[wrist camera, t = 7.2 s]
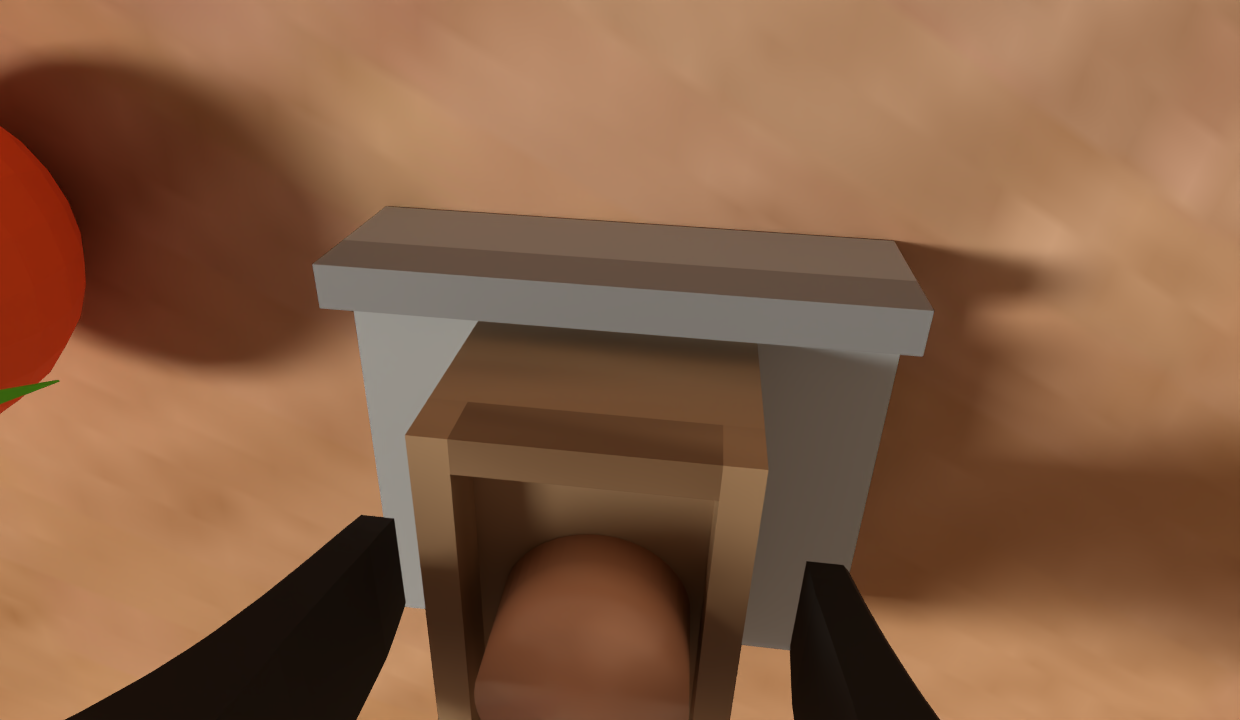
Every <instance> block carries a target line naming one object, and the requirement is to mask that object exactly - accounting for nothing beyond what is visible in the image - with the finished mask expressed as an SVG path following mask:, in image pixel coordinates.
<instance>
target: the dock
mask: <svg viewBox="0 0 1240 720" xmlns="http://www.w3.org/2000/svg"><path fill="white" fill-rule="evenodd" d="M312 265H313V271H314V277H315V283H316V289H317V295H318V301H319V307H320V308H323V309H335V310H348V311H354V317H355V323H356V330H357V337H358V344H359V351H360V358H361V365H362V372H363V378H364V385H365V392H366V399H367V406H368V413H369V420H370V427H371V433H372V440H373V447H374V454H375V461H376V468H377V475H378V482H379V488H380V495H381V502H382V509H383V516H384V517H385V518H394V520H395V528H396V535H397V542H398V550H399V557H400V564H401V571H402V579H403V586H404V593H405V600H406V604H405V607H412V608H421V609H425V602H424V593H423V585H422V576H421V568H420V559H419V551H418V542H417V534H416V525H415V517H414V509H413V500H412V492H411V483H410V475H409V466H408V458H407V449H406V441H405V434H406V433H407V431H408V429H409V428H410V426H411V425H412V423H413V422H414V420H415V419H416V417H417V415H418V414H419V412H420V411H421V409H422V408H423V406H424V405H425V403H426V401H427V400H428V398H429V397H430V395H431V394H432V392H433V391H434V389H435V387H436V386H437V384H438V383H439V381H440V380H441V378H442V377H443V375H444V373H445V372H446V370H447V369H448V367H449V366H450V364H451V363H452V361H453V359H454V358H455V356H456V355H457V353H458V352H459V350H460V349H461V347H462V345H463V344H464V342H465V341H466V339H467V338H468V336H469V334H470V333H471V331H472V330H473V328H474V327H475V325H476V324H477V322H478V321H485V322H497V323H510V324H522V325H535V326H547V327H560V328H572V329H585V330H597V331H610V332H622V333H635V334H647V335H660V336H672V337H685V338H697V339H710V340H722V341H735V342H747V343H757V344H758V356H759V367H760V378H761V390H762V401H763V412H764V424H765V435H766V446H767V458H768V469H769V471H768V477H767V484H766V490H765V496H764V503H763V509H762V516H761V522H760V529H759V535H758V542H757V548H756V555H755V561H754V567H753V574H752V580H751V587H750V593H749V600H748V606H747V613H746V619H745V626H744V632H743V638H742V645H747V646H756V647H765V648H774V649H783V650H790V643H791V638H792V633H793V628H794V623H795V618H796V612H797V607H798V602H799V597H800V592H801V587H802V582H803V576H804V571H805V566H806V561H810V562H820V563H830V564H839V565H844V566H845V567H846V569H847V570H848V571H849V573H850V569H851V565H852V560H853V556H854V552H855V547H856V543H857V539H858V534H859V530H860V526H861V521H862V517H863V513H864V508H865V504H866V500H867V495H868V491H869V487H870V483H871V478H872V474H873V470H874V465H875V461H876V457H877V452H878V448H879V444H880V439H881V435H882V431H883V426H884V422H885V418H886V413H887V409H888V405H889V400H890V396H891V392H892V388H893V383H894V379H895V375H896V370H897V366H898V362H899V357H900V355H909V356H922V357H923V354H924V350H925V346H926V342H927V338H928V334H929V330H930V326H931V322H932V318H933V314H934V310H933V308H932V306H931V304H930V303H929V301H928V299H927V297H926V296H925V294H924V292H923V290H922V289H921V287H920V285H919V284H918V282H917V280H916V278H915V277H914V275H913V273H912V271H911V270H910V268H909V266H908V264H907V263H906V261H905V259H904V257H903V256H902V254H901V252H900V250H899V249H898V247H897V245H896V243H895V242H894V241H888V240H873V239H859V238H844V237H829V236H815V235H800V234H785V233H770V232H756V231H741V230H726V229H711V228H697V227H682V226H667V225H652V224H638V223H623V222H608V221H594V220H579V219H564V218H549V217H535V216H520V215H505V214H490V213H476V212H461V211H446V210H431V209H417V208H402V207H387V206H386V207H384V208H383V209H382V210H380V211H379V212H378V213H377V214H375V215H374V216H373V217H372V218H370V219H369V220H368V221H367V222H365V223H364V224H363V225H361V226H360V227H359V228H358V229H356V230H355V231H354V232H353V233H351V234H350V235H349V236H348V237H346V238H345V239H344V240H342V241H341V242H340V243H339V244H337V245H336V246H335V247H334V248H332V249H331V250H330V251H328V252H327V253H326V254H325V255H323V256H322V257H321V258H320V259H318V260H317V261H316V262H315V263H313V264H312Z"/></svg>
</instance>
